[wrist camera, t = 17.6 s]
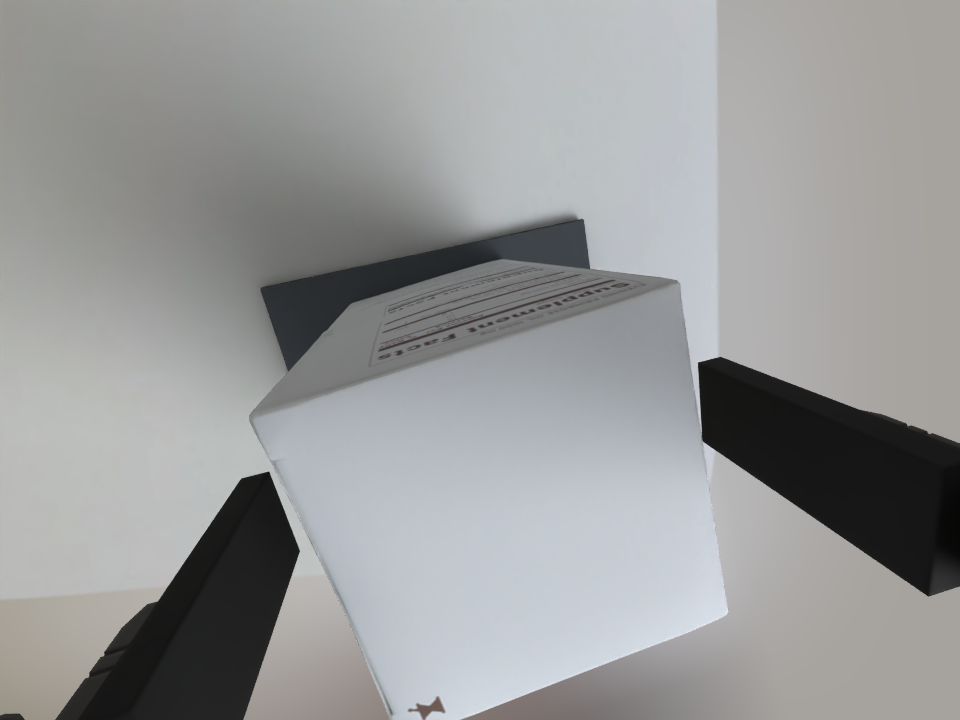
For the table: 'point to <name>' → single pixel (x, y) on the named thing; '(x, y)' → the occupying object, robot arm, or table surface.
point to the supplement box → (501, 479)
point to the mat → (405, 279)
